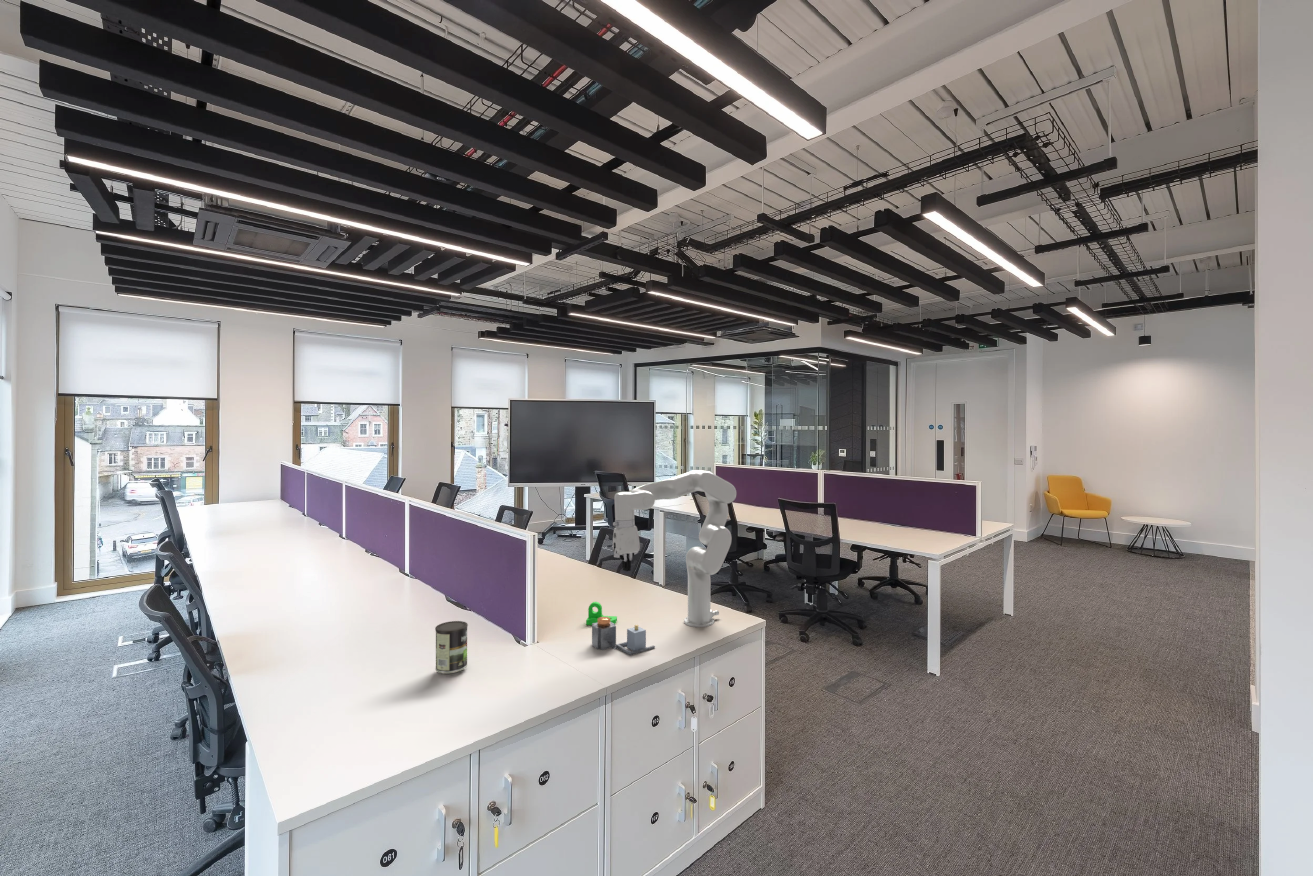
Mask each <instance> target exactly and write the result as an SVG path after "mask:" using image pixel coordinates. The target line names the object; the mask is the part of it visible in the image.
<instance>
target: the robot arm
mask: <svg viewBox="0 0 1313 876" xmlns="http://www.w3.org/2000/svg"><path fill="white" fill-rule="evenodd" d="M699 491H700V492H704V494H705V497H706V499H707V503H708V512H707V514H706V517H705V520H704V521H703V524H702V526H701V528H700V530H699V534H698V540H699V542H700V543H701V544H702V545H704V546H707V547H706V548H705V547H702V546H693V547H690V548H689V550H688V551H687V552H686V556H685V564H686V565H685V566H686V570H687V616H685V617H684V619H683V622H684V624H685V625H686V626H689V627H691V628H692V627H693V628H705V627H710V626H712V625H713V624H715V619H714V618H713V617H715V616H719V615H720V611H719V610H714V611H713V610H712V609H711V601H712V600H711V599H712V598H711V583H712V580H711V576H712V575H715V574H717V573H718V572H719V571H720V570H721V568H722V566H723V564H724V562H725V559H726V557H727V554H728V552H729V550H730V547H731V545H732V534H731V531H730V530H729V529H728V528H727V527H725V526H726V524H727V520H728V518H729V506H728V504H731V503H732V502H734V501H735V500H736V498H737V490H736V487H735V486H734V485H733V484H732V483H731V482H729V481H728V480H726V479H723V478H722V477H720V476H718V475H717V474H714V473H713V472H711V471H707V470H702V469H701V470H700V469H694V470H690V471H687V472H685V473H684V472H683V473H681V474H679V475H676V476H673V477H671V478H667V479H663V480H659V481H655V482H649V483H646V484H644V485H640V486H638V487H635V488H632V489H631V490H630V491H620V492H619V491H618V492H616V493H615V494H614V497H613V498H614V518H615V519H614V522H612V525H613V527H614V528H613V535H612V552H613V557H614V558H617V559H618V558H619V559H620V561H621V562H622V563H621V566H622V571H625V572H630V571H631V570H632V569H631V567H632V564H631V562H632V560H633V557H634V556H635V555H637V554H638V553H639V551H640V548H641V547H640V546H641V544H640V543H641V542H640V536H639V530H638V527H637V526H636V524H635V510H639V511H647V510H650V509H651V508H653V507H654V506H655V505H654V504H655V503H656V501H659V500H675V499H678V498H681V497H683V496H686V495H689V494H692V493H695V492H699Z"/></svg>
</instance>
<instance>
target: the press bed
mask: <svg viewBox="0 0 1313 876" xmlns="http://www.w3.org/2000/svg"><path fill="white" fill-rule="evenodd" d="M626 647H627V641H625V642H620V643H616V646H615V647H612V648H611V649H613V650H616V649H618V650H619V651H621V652H623V653H625V654H626V655H628V656H629V657H630V656H631V657H632V656H633V655H638V654H640V653H644V652H647V651H650V650H653V649H654V650H655V648H656V646H655V645H651V646H646V648H642V649H639V650H635V651H633V650H630V649H629V650H628V648H626Z"/></svg>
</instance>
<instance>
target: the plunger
mask: <svg viewBox="0 0 1313 876" xmlns="http://www.w3.org/2000/svg"><path fill="white" fill-rule="evenodd" d="M609 625H610V618H609V617H600V618H598V626H600V627H606V626H609Z"/></svg>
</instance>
